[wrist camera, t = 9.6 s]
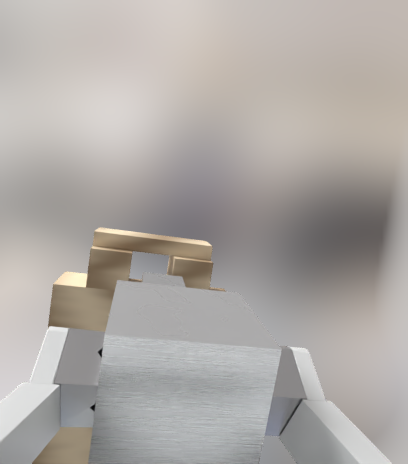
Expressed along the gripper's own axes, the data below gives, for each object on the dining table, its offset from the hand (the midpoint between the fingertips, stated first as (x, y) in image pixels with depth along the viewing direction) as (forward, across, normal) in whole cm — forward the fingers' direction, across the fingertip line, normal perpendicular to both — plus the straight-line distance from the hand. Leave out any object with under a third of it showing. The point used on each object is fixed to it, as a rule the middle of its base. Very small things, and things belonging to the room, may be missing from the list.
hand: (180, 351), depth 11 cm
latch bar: (+2, 0, -4) cm, 4 cm away
